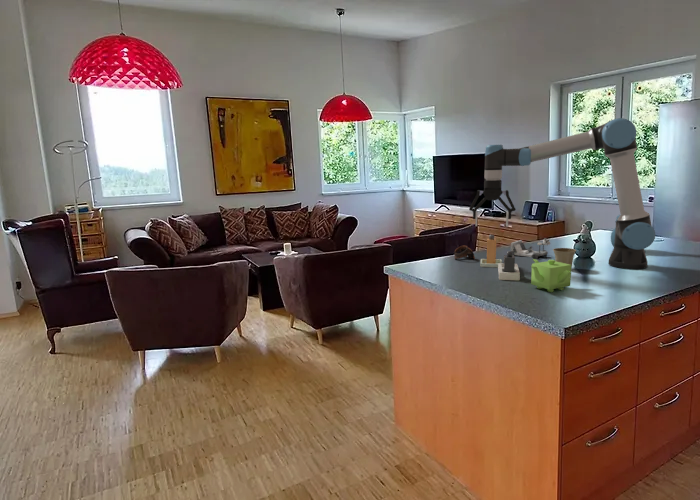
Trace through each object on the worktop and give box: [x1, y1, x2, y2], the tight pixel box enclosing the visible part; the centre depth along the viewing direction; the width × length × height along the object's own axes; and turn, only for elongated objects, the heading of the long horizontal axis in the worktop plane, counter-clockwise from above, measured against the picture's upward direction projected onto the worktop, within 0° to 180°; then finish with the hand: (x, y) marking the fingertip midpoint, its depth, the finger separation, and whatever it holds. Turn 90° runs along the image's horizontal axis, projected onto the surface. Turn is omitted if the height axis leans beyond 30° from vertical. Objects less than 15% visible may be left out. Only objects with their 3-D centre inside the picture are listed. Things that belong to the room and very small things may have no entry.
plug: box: [486, 234, 497, 264], centre depth 221 cm, size 4×5×14 cm
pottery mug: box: [453, 245, 476, 261], centre depth 237 cm, size 12×10×8 cm
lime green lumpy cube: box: [530, 258, 573, 293], centre depth 180 cm, size 15×14×11 cm
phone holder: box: [510, 238, 551, 260], centre depth 240 cm, size 18×10×12 cm
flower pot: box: [552, 247, 577, 269], centre depth 211 cm, size 9×9×9 cm
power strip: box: [497, 250, 521, 281], centre depth 203 cm, size 8×18×11 cm, turn 164°
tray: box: [479, 258, 503, 268], centre depth 222 cm, size 10×11×2 cm
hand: (491, 226), depth 219 cm, fingers open, 13 cm apart
